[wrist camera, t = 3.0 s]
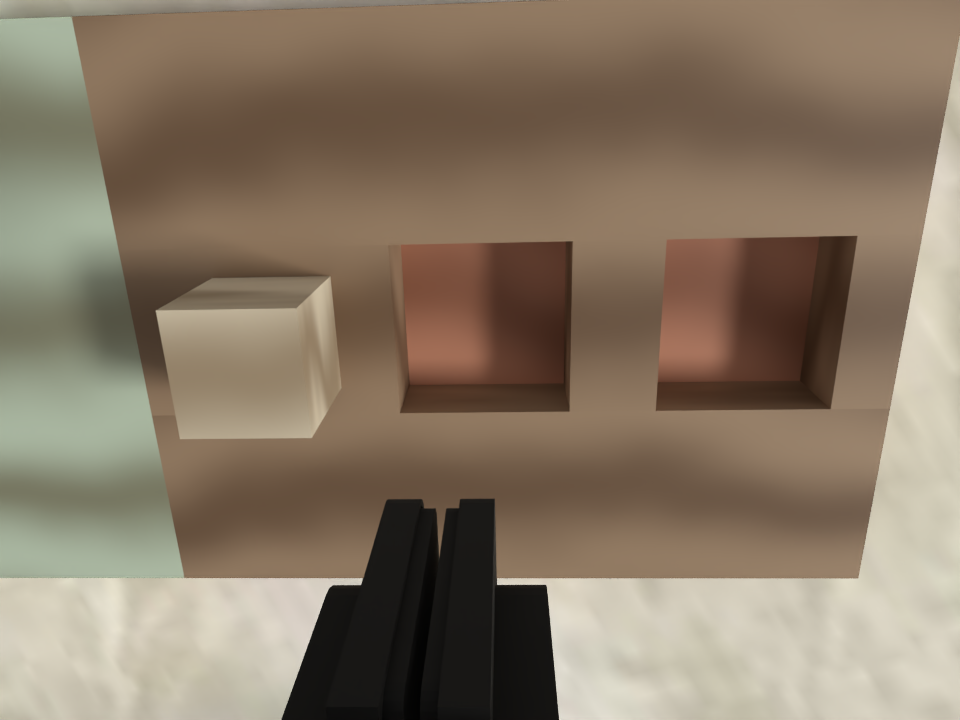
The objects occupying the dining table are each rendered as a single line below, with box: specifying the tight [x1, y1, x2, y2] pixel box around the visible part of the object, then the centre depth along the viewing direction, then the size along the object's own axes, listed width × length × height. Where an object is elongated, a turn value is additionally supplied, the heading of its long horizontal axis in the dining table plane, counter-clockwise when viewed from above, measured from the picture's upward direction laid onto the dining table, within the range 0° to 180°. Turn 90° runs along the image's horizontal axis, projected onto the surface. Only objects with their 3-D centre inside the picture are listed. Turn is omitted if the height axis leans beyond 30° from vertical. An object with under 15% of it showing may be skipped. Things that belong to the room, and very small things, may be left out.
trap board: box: [0, 0, 960, 578], centre depth 25 cm, size 20×34×3 cm, turn 92°
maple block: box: [156, 276, 342, 439], centre depth 22 cm, size 4×4×4 cm
